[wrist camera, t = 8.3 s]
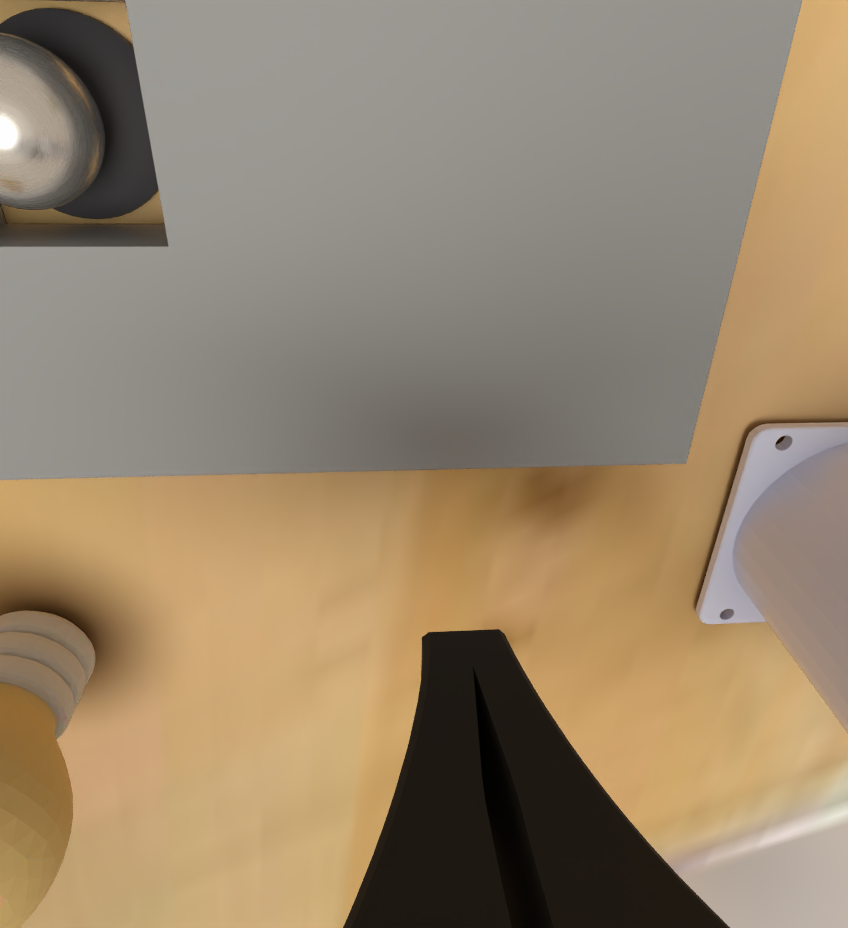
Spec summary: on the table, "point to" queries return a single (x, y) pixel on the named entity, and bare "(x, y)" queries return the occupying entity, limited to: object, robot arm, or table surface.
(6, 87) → the steel ball
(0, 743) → the light bulb
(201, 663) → the table surface
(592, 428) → the hole deck
